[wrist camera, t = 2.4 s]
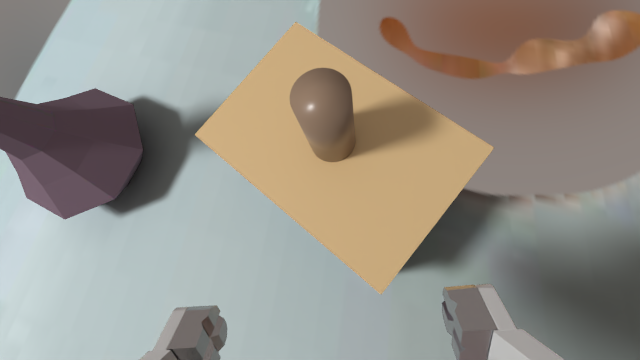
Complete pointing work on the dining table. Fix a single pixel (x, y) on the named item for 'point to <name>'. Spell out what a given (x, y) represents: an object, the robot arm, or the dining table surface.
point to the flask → (71, 149)
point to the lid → (344, 152)
